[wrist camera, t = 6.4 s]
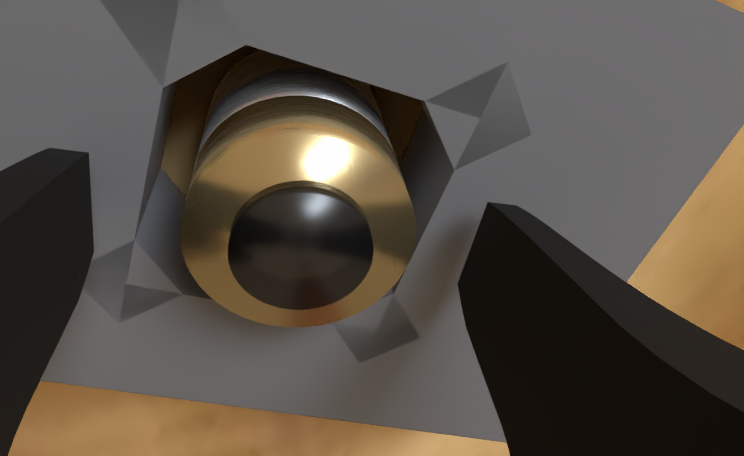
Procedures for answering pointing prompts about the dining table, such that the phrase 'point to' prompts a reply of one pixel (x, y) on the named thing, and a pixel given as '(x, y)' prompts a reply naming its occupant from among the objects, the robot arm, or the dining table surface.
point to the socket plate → (418, 167)
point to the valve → (295, 196)
